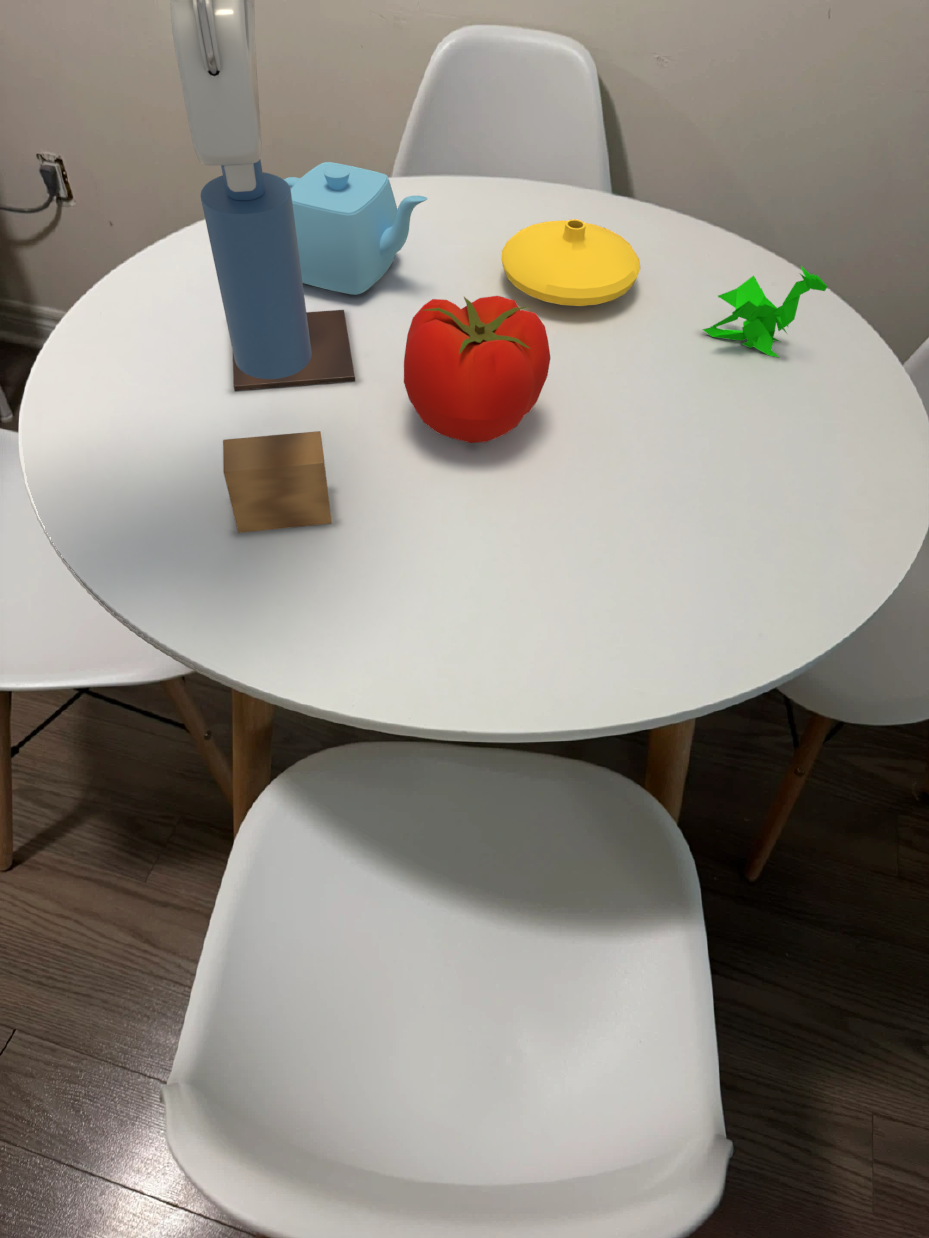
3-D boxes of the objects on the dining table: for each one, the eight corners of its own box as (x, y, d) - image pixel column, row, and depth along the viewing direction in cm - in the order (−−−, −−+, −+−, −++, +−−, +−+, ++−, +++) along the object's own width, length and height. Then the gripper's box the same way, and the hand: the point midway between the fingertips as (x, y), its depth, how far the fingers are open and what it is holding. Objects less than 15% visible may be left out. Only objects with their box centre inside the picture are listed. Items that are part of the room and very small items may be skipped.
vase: (479, 258, 104) (483, 199, 99) (600, 240, 108) (609, 182, 102) (530, 333, 95) (536, 272, 89) (659, 310, 99) (673, 250, 93)
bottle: (240, 397, 70) (198, 281, 53) (225, 248, 72) (179, 87, 54) (316, 391, 71) (299, 274, 53) (299, 244, 73) (277, 84, 55)
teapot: (406, 320, 96) (403, 217, 87) (259, 283, 99) (242, 180, 90) (447, 264, 103) (449, 164, 94) (309, 232, 107) (298, 133, 98)
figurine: (814, 367, 92) (829, 285, 85) (697, 362, 95) (702, 283, 88) (818, 335, 95) (832, 253, 89) (704, 331, 99) (710, 252, 92)
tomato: (401, 461, 82) (397, 353, 72) (412, 368, 90) (410, 262, 81) (543, 468, 82) (558, 361, 72) (540, 375, 90) (553, 269, 81)
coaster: (234, 391, 87) (233, 386, 87) (232, 322, 94) (231, 317, 94) (355, 381, 89) (354, 376, 88) (344, 314, 96) (343, 309, 96)
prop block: (238, 533, 75) (223, 472, 70) (237, 500, 78) (222, 439, 72) (331, 523, 76) (324, 462, 71) (328, 492, 79) (320, 430, 73)
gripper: (264, -27, 41) (299, 251, 52) (253, -138, 54) (283, 105, 65) (125, -24, 41) (190, 257, 51) (147, -138, 53) (196, 108, 64)
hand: (242, 171), depth 58 cm, fingers closed on bottle, 2 cm apart
